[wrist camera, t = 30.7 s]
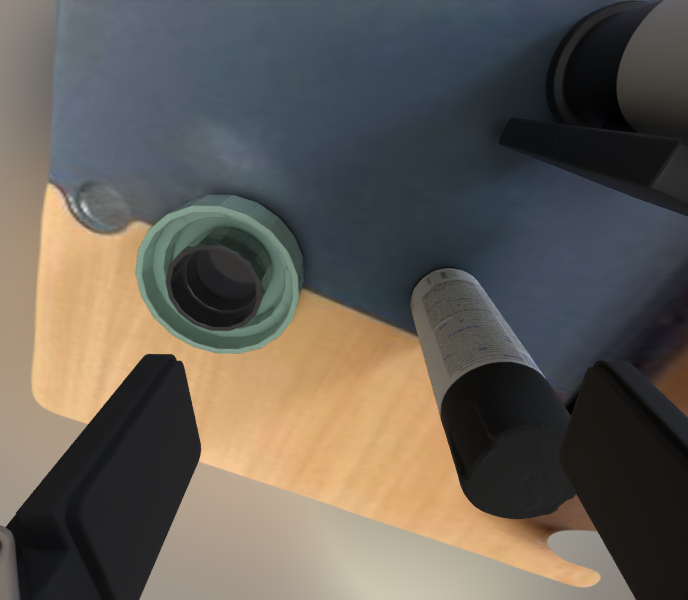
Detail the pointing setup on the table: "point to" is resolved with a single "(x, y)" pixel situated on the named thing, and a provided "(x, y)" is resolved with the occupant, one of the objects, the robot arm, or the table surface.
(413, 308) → the spray can
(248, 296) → the charcoal bowl
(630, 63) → the light fixture
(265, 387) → the table surface
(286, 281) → the celadon bowl
